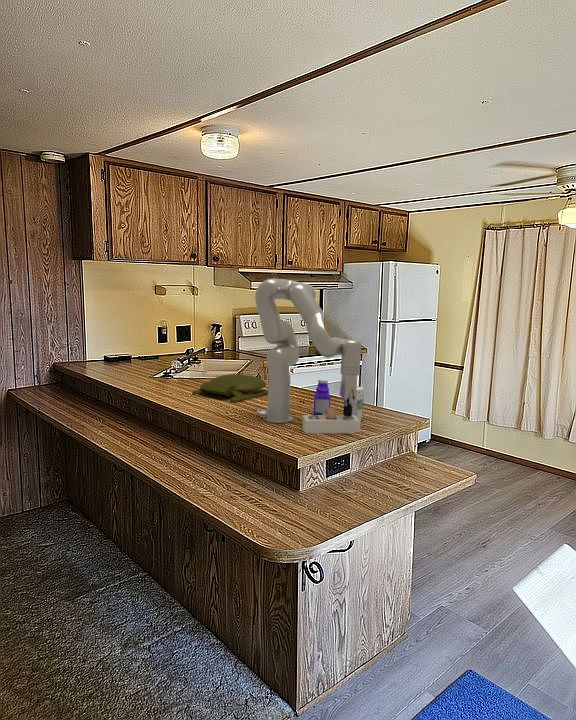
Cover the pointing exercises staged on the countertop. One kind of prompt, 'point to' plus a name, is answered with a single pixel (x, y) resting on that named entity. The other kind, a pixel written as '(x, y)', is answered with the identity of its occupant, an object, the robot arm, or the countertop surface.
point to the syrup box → (358, 403)
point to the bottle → (321, 398)
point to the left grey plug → (313, 417)
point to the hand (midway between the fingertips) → (347, 415)
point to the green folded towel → (234, 386)
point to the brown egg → (331, 413)
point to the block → (330, 424)
